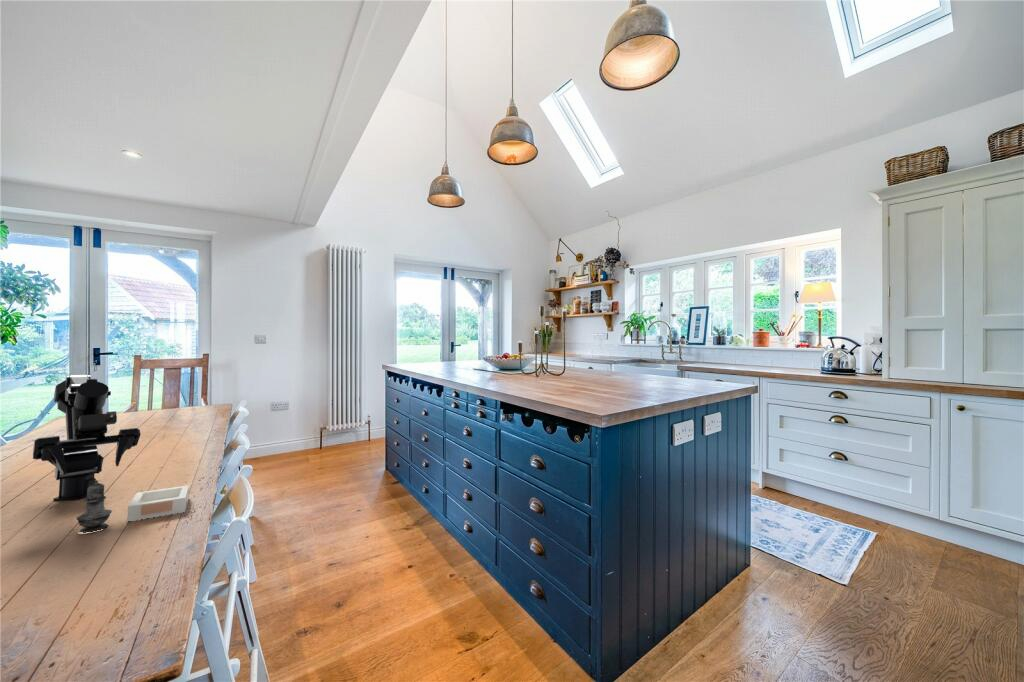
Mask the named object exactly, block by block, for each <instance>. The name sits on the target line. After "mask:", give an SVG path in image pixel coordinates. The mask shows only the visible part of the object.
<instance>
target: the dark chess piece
mask: <svg viewBox="0 0 1024 682" xmlns="http://www.w3.org/2000/svg"><path fill="white" fill-rule="evenodd" d="M106 498H107V496H106V495H105V484H103V483H100V482H99V481H98V480H97V479H96V481H95V483H94V484H93V485H91V486H89V487H88V489H87V496H86V499H85V500H84V502H85V510H84V513H82V514H80V515H78V516H77V517H76V520H77V523H78V525H79V526H81V527H82V528H81V529H79V530H80V531H79V530H78V531H79V532H83V533H86V532H93V531H97V530H101V529H105V528H107V527H108V526H109V527H110V524H109V525H108V523H105V522H106V521H108V520H109V517H110V516H111V514H112V510H111V509H106V508H105V503H104V502H105V499H106ZM109 527H108V528H109ZM108 528H107V529H108ZM105 530H106V529H105Z"/></svg>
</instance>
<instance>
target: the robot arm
mask: <svg viewBox="0 0 1024 682" xmlns="http://www.w3.org/2000/svg"><path fill="white" fill-rule="evenodd" d="M111 393H112V392H111V390H109V386H108V385H107V384H105V383H103V382H100V381H98V379H97V378H91V375H88V374H70V375H66V377H65V380H63V381H61V382H59V383H58V384H56V385H55V389H54V394H53V402H54V403H56V404H57V410H58V411H60V412H62V413H64V414H65V429H66V439H65V440H60V439H61V438H60V435H56V436H54V435H53V436H45V437H37V438H36V439H35V440H34V442H33V448H32V450H33V451H32V459H33V460H41V462H48V463H50V464H52V466H54V467H55V468H54V478H55V480H56V481H59V485H58V486H59V487H58V496H56V497H53V498H52V500H53V501H70V500H71V501H73V500H82V499H84V498H87V489H88V487H89V486H91V485H93V484H94V483H95V481H96V480H97V479H96V478H95V475H96V474H100V472H102V471H103V470H102V469H103V462H104V459H105V458H104V457H103V456H102V454H101V452H98V446H100V445H108V444H109V445H110V444H116V450H115V461H114V462H115V463H114V464H115V467H119V466H120V462H121V460H122V457H123V455H124V453H125V452H126V451H127V450H130V449H132V448H133V447H136V446H138V444H139V440H140V438H141V435H142V434H141V429H140V428H137V427H131V428H120V429H119V431H118V434H113V435H106V434H107V432H108V425H109V426H110V425H115V424H116V423H117V422H118V421H117V420H118V415H117V411H115V410H114V411H113V410H112V411H106V413H104V412H103V411H104V410H103V407H104V406H105V404H106V400H107V399H108V397H109V396H112V395H111Z"/></svg>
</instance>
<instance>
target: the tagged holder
mask: <svg viewBox="0 0 1024 682" xmlns="http://www.w3.org/2000/svg"><path fill="white" fill-rule="evenodd" d="M189 499H190V485H189V484H188V485H181V486H174V487H169V488H160V489H154V490H147V491H140V492H136V494H135V495H134V496H133V498H132V499H131V500H130V502H129V504H128V505H127V511H126V512H127V516H126V523H129V522H128V521H132V522H137V521H141V519H143V520H147V519H146V518H149V519H154V518H153V517H155V518H160V517H159V516H161V517H166V516H171V514H172V515H177V513H178V514H183V512H184V513H185V512H186V509H187V506H188V503H189ZM165 515H166V516H165ZM136 520H137V521H136Z"/></svg>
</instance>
